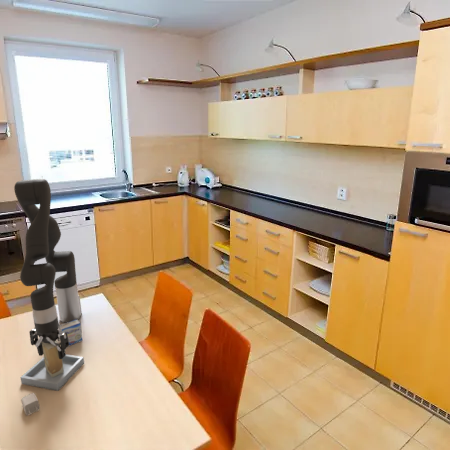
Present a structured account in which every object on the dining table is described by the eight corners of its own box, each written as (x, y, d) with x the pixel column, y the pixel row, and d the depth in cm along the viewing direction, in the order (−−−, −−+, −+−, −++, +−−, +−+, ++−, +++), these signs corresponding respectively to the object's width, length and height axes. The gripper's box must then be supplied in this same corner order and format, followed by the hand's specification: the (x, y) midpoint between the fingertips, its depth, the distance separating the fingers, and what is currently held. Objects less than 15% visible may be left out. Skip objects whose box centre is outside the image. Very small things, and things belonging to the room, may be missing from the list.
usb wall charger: (36, 402, 117) (34, 392, 116) (42, 414, 112) (40, 404, 111) (22, 408, 115) (20, 398, 114) (28, 421, 110) (26, 410, 109)
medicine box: (63, 348, 145) (61, 329, 143) (60, 343, 148) (57, 325, 146) (83, 340, 150) (80, 322, 148) (79, 336, 153) (76, 318, 151)
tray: (50, 357, 139) (49, 351, 138) (84, 363, 136) (83, 357, 135) (21, 383, 125) (20, 377, 124) (58, 390, 122) (57, 384, 121)
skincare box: (45, 370, 131) (40, 342, 128) (57, 364, 134) (53, 336, 131) (52, 378, 127) (47, 349, 124) (64, 372, 130) (60, 343, 127)
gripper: (70, 314, 126) (75, 352, 131) (36, 309, 129) (42, 347, 134) (55, 325, 119) (62, 365, 124) (20, 320, 122) (27, 359, 127)
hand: (52, 356), depth 129 cm, fingers open, 8 cm apart
